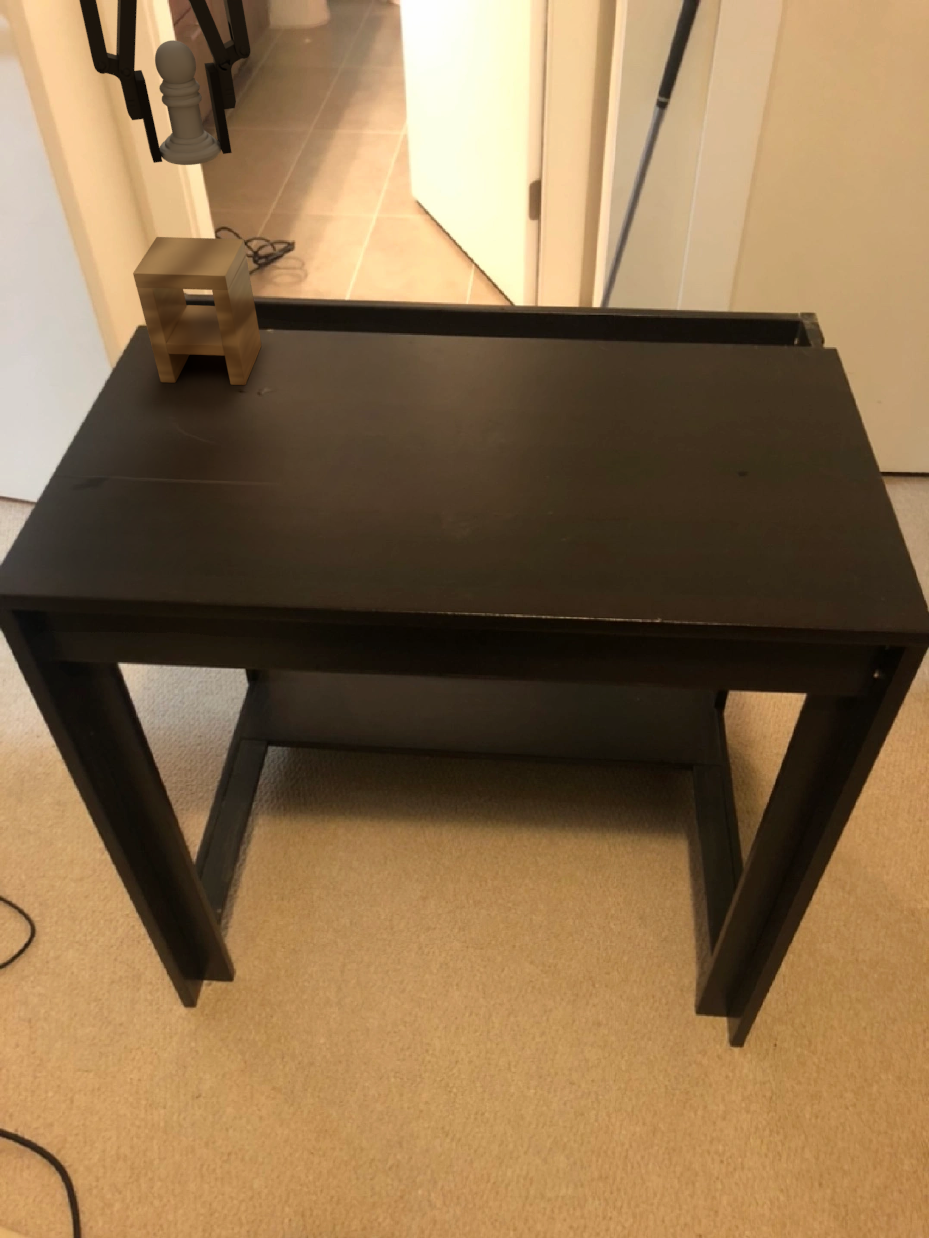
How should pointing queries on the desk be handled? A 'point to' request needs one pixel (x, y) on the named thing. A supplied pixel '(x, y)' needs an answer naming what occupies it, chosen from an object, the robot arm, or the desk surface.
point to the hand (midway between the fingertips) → (190, 152)
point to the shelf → (192, 325)
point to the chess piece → (183, 107)
